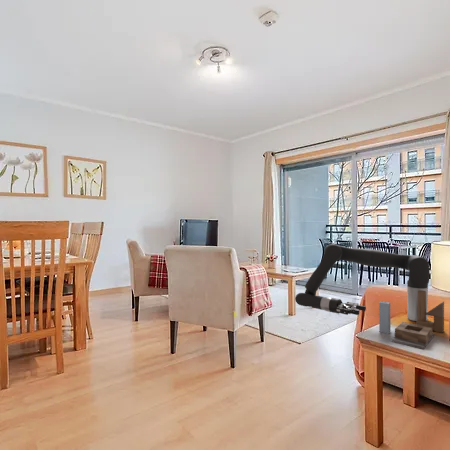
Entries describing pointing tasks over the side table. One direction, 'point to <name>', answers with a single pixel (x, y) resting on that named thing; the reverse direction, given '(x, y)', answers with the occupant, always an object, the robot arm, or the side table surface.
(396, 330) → the wooden socket base
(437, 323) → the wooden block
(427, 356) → the side table surface
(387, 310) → the rectangular block
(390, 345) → the side table surface
